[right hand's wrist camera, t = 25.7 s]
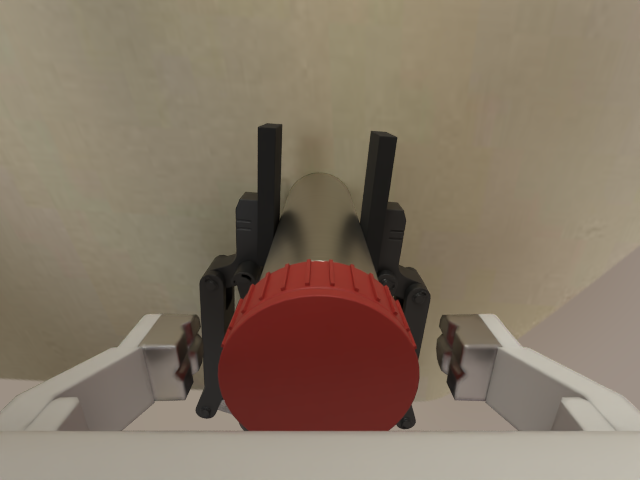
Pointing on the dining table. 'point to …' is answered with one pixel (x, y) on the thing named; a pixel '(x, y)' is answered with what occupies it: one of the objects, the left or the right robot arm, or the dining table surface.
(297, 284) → the lid
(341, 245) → the jar
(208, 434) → the right robot arm
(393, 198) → the dining table surface
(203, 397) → the left robot arm
